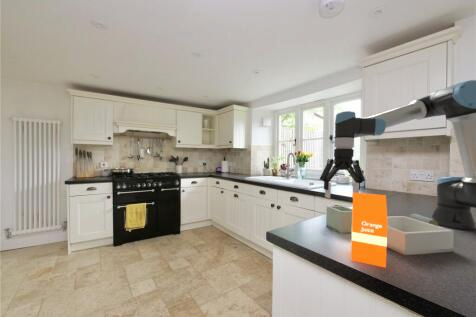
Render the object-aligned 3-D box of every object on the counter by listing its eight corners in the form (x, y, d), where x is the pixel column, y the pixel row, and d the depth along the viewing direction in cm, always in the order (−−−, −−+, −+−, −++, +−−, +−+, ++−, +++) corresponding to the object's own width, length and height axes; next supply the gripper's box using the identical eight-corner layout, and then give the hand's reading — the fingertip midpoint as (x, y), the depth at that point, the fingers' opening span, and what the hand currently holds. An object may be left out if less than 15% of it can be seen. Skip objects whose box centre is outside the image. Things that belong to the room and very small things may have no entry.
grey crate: (402, 232, 91) (403, 216, 90) (453, 251, 73) (453, 230, 73) (361, 234, 87) (362, 217, 86) (404, 255, 69) (405, 233, 69)
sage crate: (341, 225, 98) (342, 205, 98) (358, 233, 89) (358, 211, 88) (326, 226, 97) (326, 206, 97) (340, 234, 87) (341, 211, 87)
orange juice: (350, 250, 72) (352, 190, 71) (382, 256, 68) (384, 193, 67) (351, 260, 65) (353, 194, 64) (386, 268, 61) (388, 197, 60)
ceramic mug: (428, 238, 84) (429, 219, 84) (405, 231, 92) (406, 213, 92) (444, 236, 88) (445, 217, 88) (422, 229, 96) (423, 212, 96)
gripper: (362, 149, 98) (360, 195, 99) (312, 147, 93) (310, 195, 94) (375, 149, 91) (373, 199, 91) (322, 146, 86) (320, 199, 86)
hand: (341, 197), depth 92 cm, fingers open, 13 cm apart
